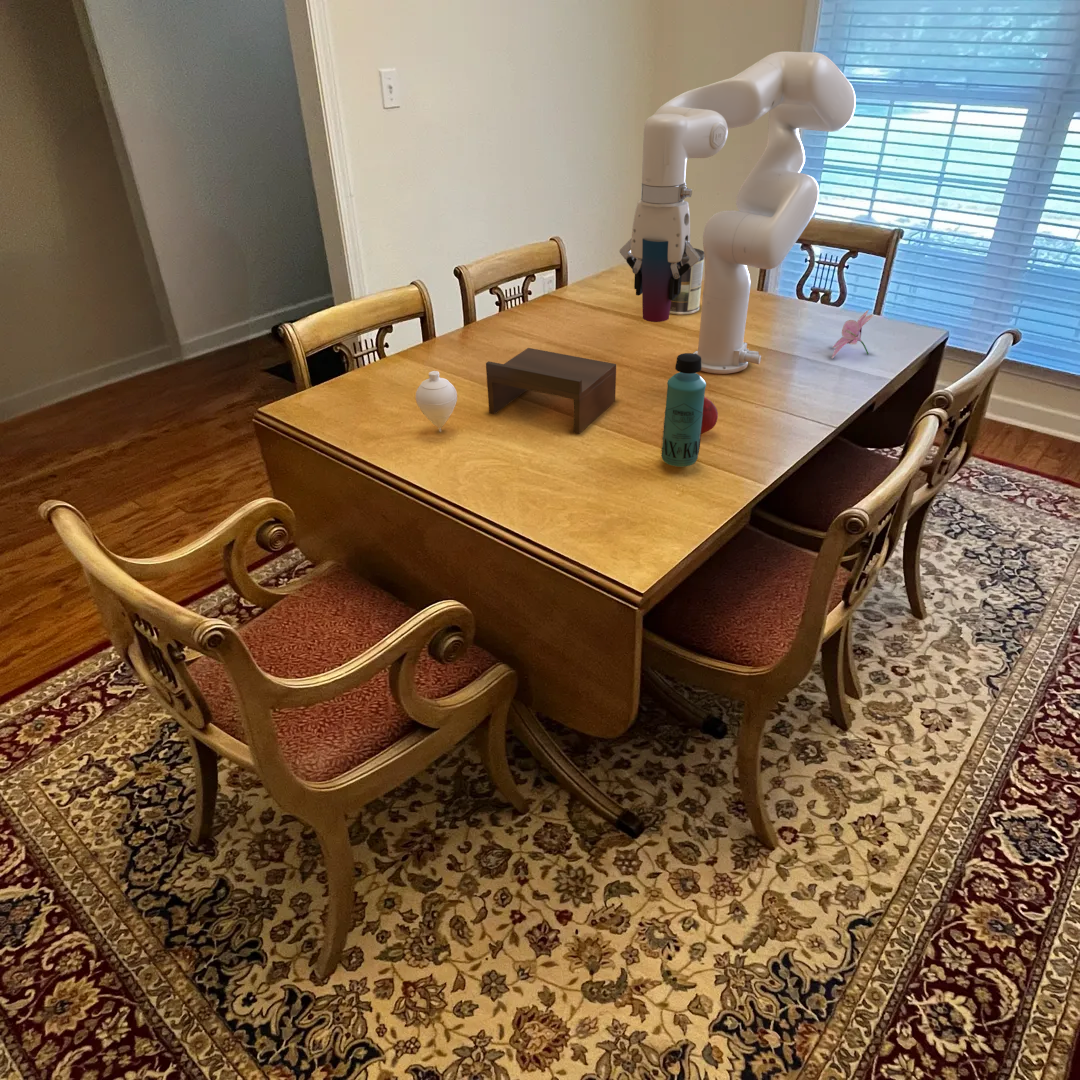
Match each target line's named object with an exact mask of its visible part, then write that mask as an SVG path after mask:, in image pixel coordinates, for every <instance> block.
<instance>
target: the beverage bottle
mask: <svg viewBox="0 0 1080 1080" xmlns="http://www.w3.org/2000/svg"><path fill="white" fill-rule="evenodd" d="M693 353H694V352H687V353H686V352H685V353H680V354H679V355H677V356H676V362H675V368H674V369H675V370H676V371H677V372H676V373H675V374H673V375H671V377H670V378H668V379H667V382H666V384H667V386H666V387H667V389H666V397H665V398H666V399H665V409H664V417H663V421H662V422H663V425H662V427H663V429H662V434H661V435H662V437H661V440H662V442H661V449H660V455H661V459H662V461H663V462H664V463H665V464H667V465H669V466H673V467H679V468H680V467H681V468H683V467H689V466H692V465H694V464H695V463H696V462H697V460H698V458H699V455H700V449H701V448H700V447H701V441H702V439H701V438H702V434H701V431H702V430H701V429H702V428H701V425H703V423H702V416H704V415H703V405H704V396H705V394H706V387H707V382H706V381H705V379H704V378H703V377H702V376H701V375H700V374H698V373H700V372H702V371H701V367H702V365H701V357H700V356H699V355H697V354H693ZM705 397H706V396H705ZM700 434H701V435H700Z"/></svg>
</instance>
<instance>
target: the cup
mask: <svg viewBox="0 0 1080 1080" xmlns="http://www.w3.org/2000/svg"><path fill="white" fill-rule="evenodd" d="M672 277H673V274H672V271H671V263H670V262H668V241H663V242H658V241H649V240H646V239H643V251H642V294H641V299H642V305H641V306H642V319H643V320H644V321H647V322H650V323H662V322H663V323H664V322H666V321H668V320H669V319H670V306H671V300H670V299H669V288H670V279H671V278H672Z"/></svg>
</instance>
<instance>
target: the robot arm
mask: <svg viewBox="0 0 1080 1080" xmlns="http://www.w3.org/2000/svg"><path fill="white" fill-rule="evenodd" d="M856 104H857V103H856V93H855V89H854V87H853V85H852V83H851V82H850V81H849V80H848V78H847V76H845V74H844V72H842V71H841V70H840V68H839V67H838V66H837V64H836V63H835V62H834V61H832V60H831V59H830V58H829V57H828V56H827V55H825V54H823V53H821V52H815V51H784V50H783V51H775V52H772V53H770V54H768V55H765V56H764V57H762V58H761V59H760V60H758V61H757V62H755V63H753V64H751V65H750V66H749V67H747V68H746V69H744V70H742V71H740V72H739V73H738V74H736V75H734V76H732V77H730V78H726V79H722V80H719V81H716V82H713V83H709V84H706V85H704V86H699V87H697V88H693V89H690V90H687V91H685V92H683V93H680V94H678V95H676V96H675V97H673V98H671V99H669V100H668V101H667V102H664V103H663V104H662V105H661V106H659V108H657V109H656V111H655V112H654V113H653V115H650V116H648V117H647V118H646V119H645V121H644V125H643V140H642V142H643V143H642V165H641V166H642V167H641V185H640V186H641V190H640V191H641V192H640V199H639V200H638V201H637V203H636V206H635V211H634V217H633V223H632V228H631V229H632V230H631V238H630V239H629V240H628V241H627V242H626V243H625V244H624V245H623V246H622V247H621V248H620V249H619V254H620V255H621V257H622V258H624V260H625V261H626V263H627V265H628V266H629V268H631V271H632V274H634V283H633V284H634V285H633V289H634V290H635V296H638V297H639V296H642V251H643V239H646V240H649V241H658V242H663V241H668V262H670V263H671V271H672V274H673V277H672V278H671V279H670V288H669V299H670V300H674V299H675V298H676V297H677V296H678V295H679V294H680V292H681V279H682V275H683V274H684V273H685V272H687V271H688V270H689V269H690V268H691V267H692V266H693V265H695V264H696V263H697V262H698V261H699V260H700V256H699V255H698V253H697V252H696V251H695V249H694V248H695V247H693V246H692V244H691V214H690V206H689V202H688V201H686V200H685V199H687V198H692V194H693V190H692V188H688V187H687V183H686V175H687V174H686V172H687V161H688V159H708V158H711V157H713V156H715V155H717V154H718V153H719V152H720V151H722V149H723V147H724V146H725V144H726V142H727V139H728V135H729V129H736V128H741V127H746V126H749V125H752V124H753V123H754V122H756V121H757V120H759V119H760V118H761V117H763V116H765V115H766V114H768V127H767V129H768V130H767V142H766V146H765V149H764V151H763V152H762V154H761V156H760V157H759V158H758V160H757V162H755V164H754V166H753V167H752V169H751V170H750V172H749V173H748V175H747V177H746V178H745V179H744V181H743V183H742V184H741V186H740V188H739V190H738V192H737V195H736V197H735V198H736V199H735V204H736V208H737V210H734V209H732V210H731V209H730V210H729V209H727V210H720V211H717V212H715V213H714V214H713V215H711V216H710V217H709V218H708V220H707V221H706V223H705V225H704V228H703V234H702V246H703V251H704V276H703V278H704V279H703V289H702V290H703V291H702V300H701V301H702V302H701V311H700V312H701V313H700V321H699V333H698V343H697V344H698V345H697V350H695V351H694V352H692V353H693V354H697V355H699V356H700V357H701V365H702V367H701V371H700V372H705V373H709V374H719V375H728V374H734V373H738V372H741V371H743V370H745V369H746V368H747V367H748V366H749V363H750V364H754V365H755V364H756V365H760V364H761V361H762V355H761V354H760V351H756V350H750V349H749V348H747V347H748V342H744V341H745V333H746V331H745V330H746V326H747V325H746V324H747V316H748V308H749V303H750V302H749V301H750V294H751V275H750V273H749V272H750V271H749V270H748V267H749V268H755V269H761V270H772V269H775V268H777V267H779V265H781V264H782V263H783V262H784V260H785V259H786V257H787V256H788V255H789V254H790V252H791V250H792V249H793V247H794V246H795V245H796V243H797V241H798V239H799V238H800V237H801V235H802V234H803V232H804V231H805V229H806V228H807V226H808V225H809V223H810V221H811V219H812V218H813V217H814V214H815V212H816V209H817V206H818V202H819V198H820V190H819V189H820V188H819V184H818V182H817V180H816V179H815V178H814V177H813V176H811V175H809V174H807V173H802V172H801V171H802V170H803V168H804V165H805V162H806V155H805V149H804V145H803V143H802V140H801V137H800V132H799V131H800V130H805V131H817V132H826V133H830V132H831V133H833V132H839V131H841V130H843V129H844V128H846V126H848V124H849V123H850V122H851V120H852V118H853V117H854V114H855V110H856ZM687 256H688V257H689V261H688V262H686V263H685V264H684V265H683V264H682V261H681V259H682V258H684V257H687Z"/></svg>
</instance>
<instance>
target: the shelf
mask: <svg viewBox="0 0 1080 1080" xmlns="http://www.w3.org/2000/svg"><path fill="white" fill-rule="evenodd" d="M485 370H486V371H485V372H486V373H485V374H486V385H487V386H486V387H487V401H488V413H489V414H491V415H496V414H497V413H498V412H499V411H501V410H503V408H505V407H506V406H508V405H509V404H511V403H512V402H513V401H514V400H516V399H517V398H519V397H520V396H521V395H523V394H524V393H526V391H532V392H538V393H541V394H546V395H551V396H557V397H562V398H566V399H571V400H573V433H574V434H576V435H577V434H578V435H580V434H581V433H582V432H583V431H584V430H586V428H588V427H589V426H590V425H591V424H592V423H593V422H595V420H596V419H597V418H599V417H600V416H602V414H603V413H604V412H605V411H606V410H607V409H609V408H610V407H611V406H612V405H613V404H614V403H615V402H616V391H617V390H616V386H617V363H613V362H607V361H602V360H598V359H597V360H596V359H591V358H587V357H586V358H585V357H582V356H581V357H580V356H576V355H569V354H565V353H559V352H553V351H548V350H544V349H543V350H542V349H538V348H531V347H527V348H525V349H524V350H522V351H521V352H519V353H518V354H517V355H515V356H513V357H512V358H511V359H509V360H508V361H506V362H505V363H500V362H494V361H486V362H485Z"/></svg>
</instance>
